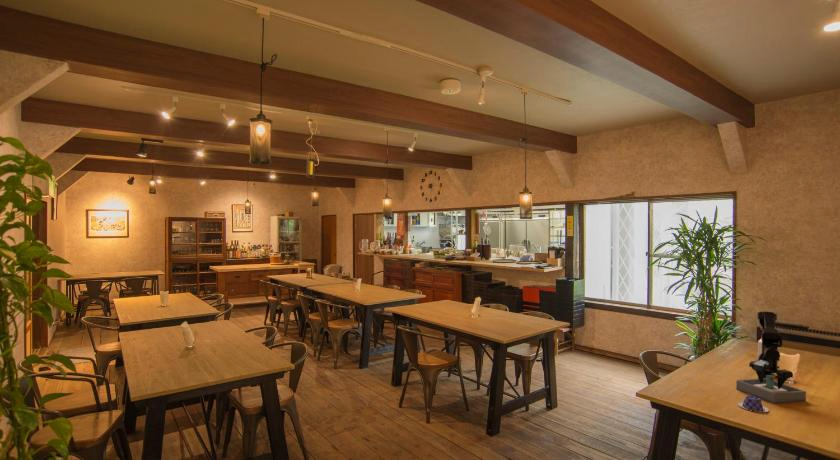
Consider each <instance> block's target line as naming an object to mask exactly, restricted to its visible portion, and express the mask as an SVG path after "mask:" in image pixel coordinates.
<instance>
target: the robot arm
mask: <svg viewBox="0 0 840 460" xmlns="http://www.w3.org/2000/svg"><path fill="white" fill-rule="evenodd" d="M777 317H778V314H777V313H775V312H773V311H765V310H764V311H758V312H757V320H758V323H759V325H760V326H761V334H760V335H761V338H762V353H761V354H760V355H759V356H758V355H757V359H756V360H751V361H750V362H749V363H748V365H749V366H748V367H750V368H751V369H752V370H753V371H755V373H756V375H757V379H759V380H760V382H761V383H762V382H763V379H764V378H766V375H771V376H774V375H773V373H775V377H776V378H777V382H778V389H780V388H781V387H782V385H783V384H785V382H786V381H787V380H788V379H790V378H794V373H793V372H792V370H787V369H780V365H779V366H778V364H779V363H778V362H779V361H780V358H781V353H780V352H779V349H778V348H782V346H783V337H782V336H781V334H779V330H778V329H776V326H775V324H776V322H778V318H777ZM761 338H760V339H761Z"/></svg>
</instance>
